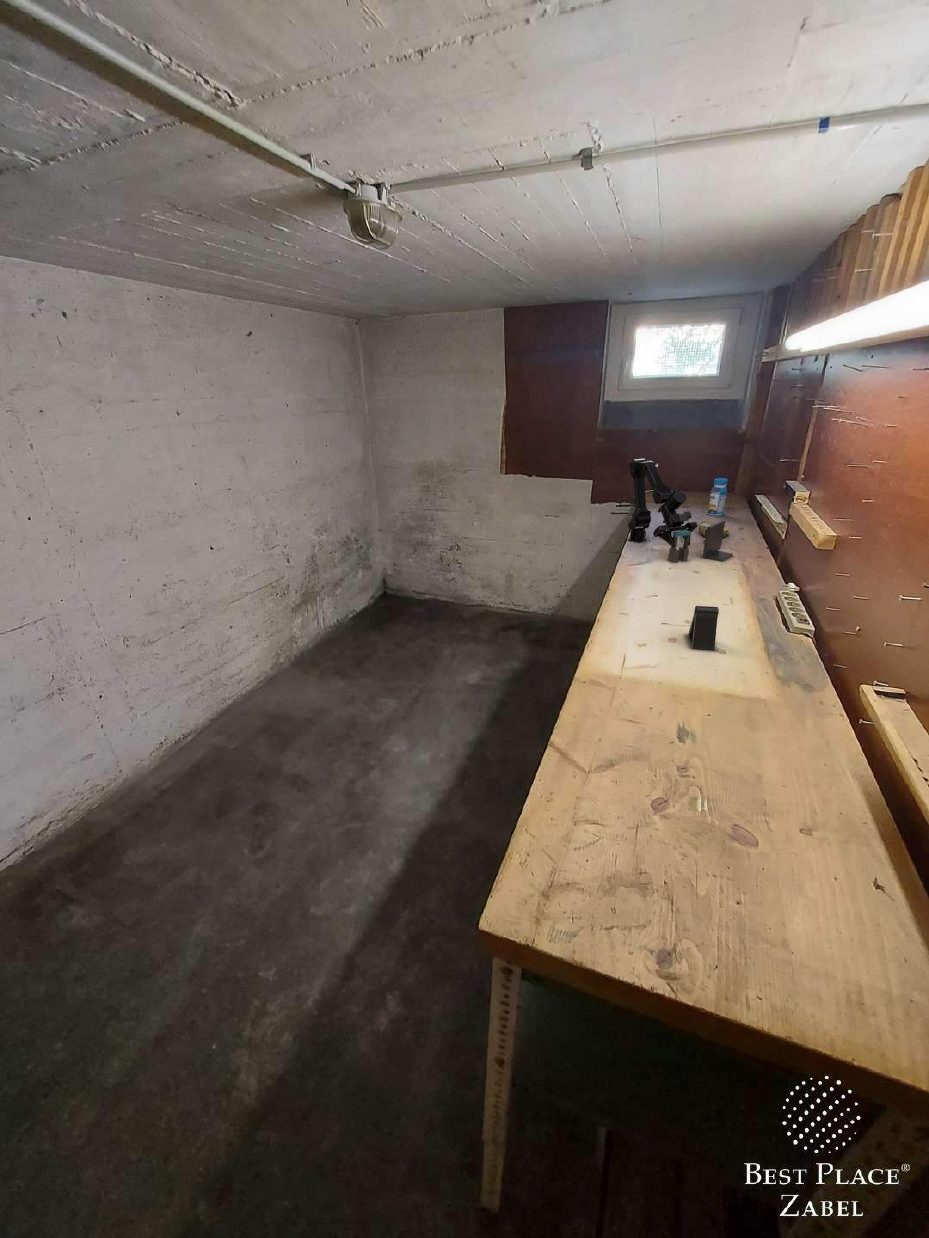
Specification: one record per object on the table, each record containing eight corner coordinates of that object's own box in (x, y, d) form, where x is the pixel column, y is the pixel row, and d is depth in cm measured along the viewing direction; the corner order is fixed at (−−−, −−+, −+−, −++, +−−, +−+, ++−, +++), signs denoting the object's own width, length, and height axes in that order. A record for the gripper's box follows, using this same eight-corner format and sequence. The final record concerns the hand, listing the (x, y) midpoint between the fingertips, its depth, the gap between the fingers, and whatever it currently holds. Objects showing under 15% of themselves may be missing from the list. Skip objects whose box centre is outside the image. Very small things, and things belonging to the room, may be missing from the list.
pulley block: (697, 531, 230) (701, 516, 254) (693, 542, 233) (698, 526, 257) (729, 538, 225) (730, 522, 249) (724, 549, 228) (726, 533, 251)
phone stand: (687, 635, 152) (693, 600, 147) (708, 636, 151) (715, 601, 146) (692, 648, 145) (698, 612, 139) (714, 650, 143) (721, 614, 138)
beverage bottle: (723, 516, 276) (730, 480, 267) (707, 515, 278) (713, 480, 270) (722, 512, 283) (728, 477, 274) (706, 512, 286) (712, 477, 277)
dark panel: (690, 556, 218) (696, 525, 211) (705, 549, 226) (710, 518, 219) (720, 562, 209) (726, 530, 202) (734, 555, 217) (740, 523, 210)
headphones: (667, 559, 215) (671, 531, 210) (681, 558, 217) (686, 529, 211) (673, 562, 212) (677, 533, 206) (687, 560, 213) (692, 532, 207)
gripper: (660, 507, 206) (672, 539, 201) (698, 503, 209) (711, 534, 204) (647, 521, 216) (659, 552, 211) (684, 517, 219) (696, 547, 215)
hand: (681, 546), depth 210 cm, fingers closed on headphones, 7 cm apart
